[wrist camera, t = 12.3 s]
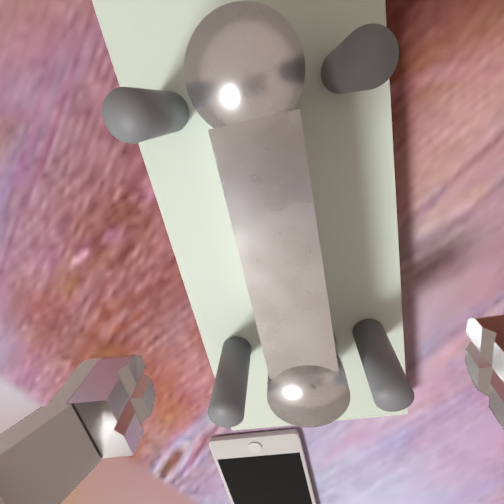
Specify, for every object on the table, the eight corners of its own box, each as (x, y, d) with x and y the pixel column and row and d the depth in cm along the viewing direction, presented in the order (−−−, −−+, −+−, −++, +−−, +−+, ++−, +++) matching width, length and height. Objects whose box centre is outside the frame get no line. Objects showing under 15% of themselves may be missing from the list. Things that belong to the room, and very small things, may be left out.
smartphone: (298, 423, 26) (298, 434, 26) (326, 542, 32) (327, 554, 31) (209, 432, 28) (206, 443, 27) (252, 545, 33) (251, 557, 32)
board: (366, -133, 14) (434, -315, 8) (400, 396, 24) (440, 492, 18) (90, -45, 15) (-28, -137, 9) (234, 413, 26) (221, 505, 20)
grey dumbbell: (290, 14, 14) (294, -16, 11) (341, 369, 22) (354, 423, 18) (195, 39, 15) (168, 19, 11) (275, 376, 22) (275, 430, 19)
